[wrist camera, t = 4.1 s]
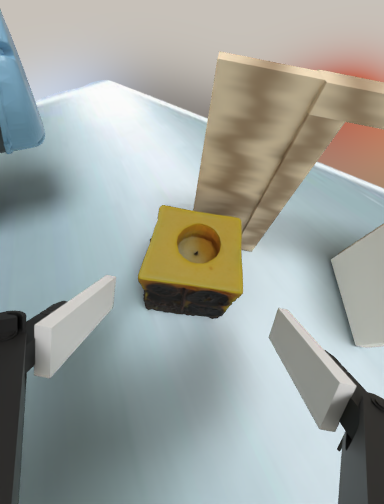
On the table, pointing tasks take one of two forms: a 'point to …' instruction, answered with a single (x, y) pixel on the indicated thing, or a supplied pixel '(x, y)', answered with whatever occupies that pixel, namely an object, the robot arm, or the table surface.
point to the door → (363, 288)
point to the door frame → (273, 135)
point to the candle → (193, 263)
